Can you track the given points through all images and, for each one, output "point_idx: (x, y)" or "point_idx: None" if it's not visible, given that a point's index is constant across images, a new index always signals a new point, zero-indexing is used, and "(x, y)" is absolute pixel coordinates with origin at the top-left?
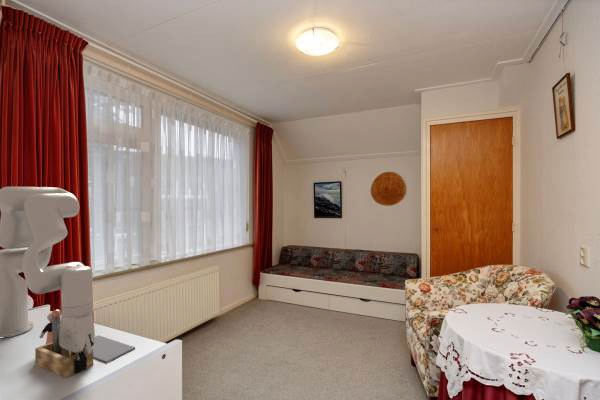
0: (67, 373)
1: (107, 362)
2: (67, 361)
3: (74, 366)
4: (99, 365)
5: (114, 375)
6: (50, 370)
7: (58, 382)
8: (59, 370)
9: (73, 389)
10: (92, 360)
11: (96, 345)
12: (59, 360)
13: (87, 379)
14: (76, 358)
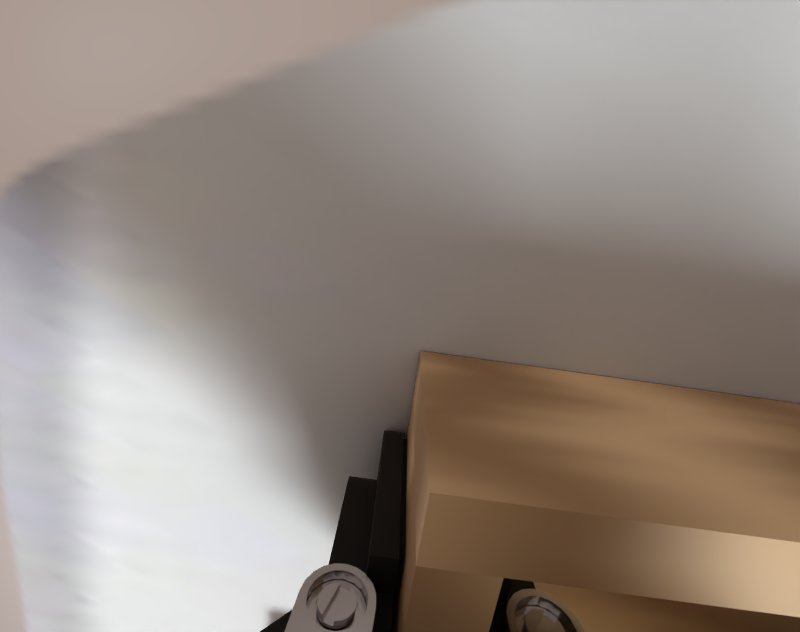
0: (418, 389)
1: None
2: (425, 502)
3: (390, 484)
4: None
5: (8, 510)
6: (729, 397)
7: (416, 273)
8: (555, 393)
9: (120, 232)
10: None
11: None
12: (625, 489)
13: (175, 399)
14: (348, 601)
